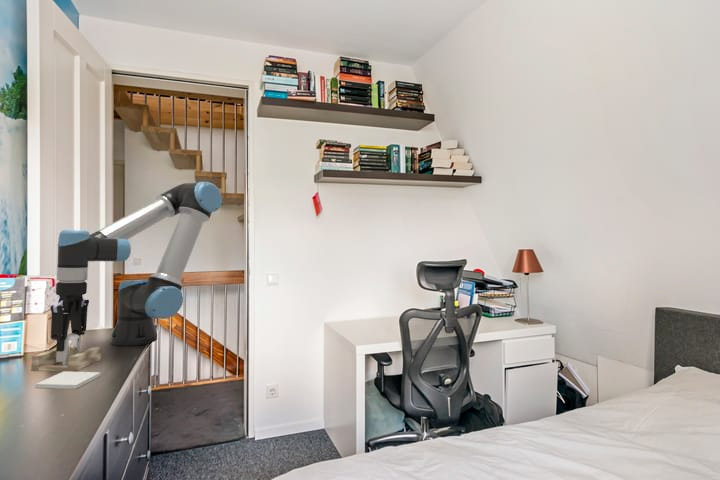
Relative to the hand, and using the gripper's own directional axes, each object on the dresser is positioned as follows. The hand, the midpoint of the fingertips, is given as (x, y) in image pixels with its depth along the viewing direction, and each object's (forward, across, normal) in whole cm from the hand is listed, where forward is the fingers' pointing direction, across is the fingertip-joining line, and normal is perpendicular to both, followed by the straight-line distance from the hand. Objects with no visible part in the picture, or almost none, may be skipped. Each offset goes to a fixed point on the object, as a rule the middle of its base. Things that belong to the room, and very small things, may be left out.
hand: (68, 359), depth 118 cm
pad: (+2, +14, +10) cm, 17 cm away
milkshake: (+2, 0, 0) cm, 2 cm away
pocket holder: (+2, 0, 0) cm, 2 cm away
